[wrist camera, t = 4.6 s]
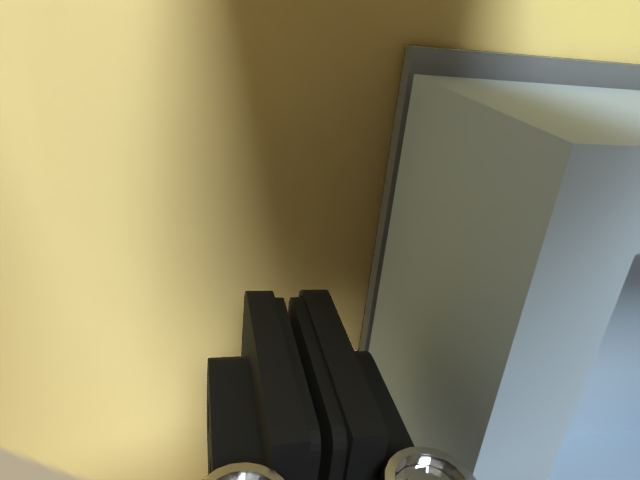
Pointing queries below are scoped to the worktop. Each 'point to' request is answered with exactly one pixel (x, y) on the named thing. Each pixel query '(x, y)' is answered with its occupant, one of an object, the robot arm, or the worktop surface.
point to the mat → (476, 67)
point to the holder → (516, 278)
